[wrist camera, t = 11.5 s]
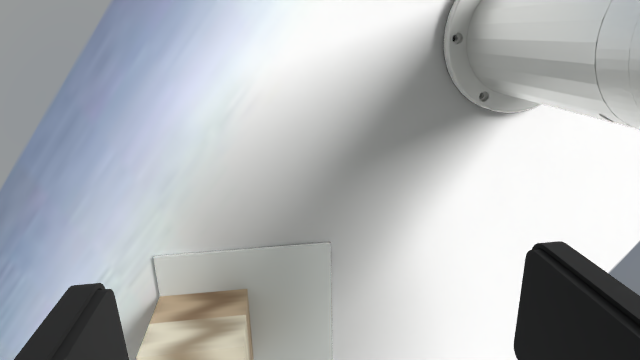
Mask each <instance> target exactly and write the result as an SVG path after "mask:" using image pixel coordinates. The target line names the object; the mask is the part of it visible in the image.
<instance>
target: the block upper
mask: <svg viewBox="0 0 640 360" xmlns="http://www.w3.org/2000/svg"><path fill="white" fill-rule="evenodd" d="M136 360H250V354H249V343H248V332H247V321H246V315H238V316H227V317H217V318H206V319H196V320H185V321H175V322H164V323H154V324H149V326H148V328H147V331H146V333H145V336H144V338H143V341H142V344H141V346H140V349H139V351H138V354H137V357H136Z"/></svg>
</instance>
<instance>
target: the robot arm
mask: <svg viewBox="0 0 640 360" xmlns="http://www.w3.org/2000/svg"><path fill="white" fill-rule="evenodd" d="M453 35H455V37H456V39H455V41H453V39H452V38H453ZM444 56H445V61H446V65H447V69H448V72H449V74H450V76H451V78H452V80H453V82H454V84H455V85H456V87H457V88H458V89H459V91H460V92H461V93H462V94H463V95H464V96H465V97H466V98H468V99H469V100H470V101H471V102H473V103H475V104H477V105H479V106H481V107H483V108H486V109H489V110H492V111H496V112H503V113H514V112H522V111H526V110H530V109H533V108H535V107H537V106H539V105H542V104H543V105H547V106H550V107H554V108H558V109H562V110H566V111H570V112H574V113H577V114H581V115H585V116H589V117H593V118H597V119H601V120H604V121H608V122H612V123H616V124H620V125H624V126H628V127H631V128H635V129H639V130H640V0H455V2H454V4H453V6H452V8H451V10H450V13H449V16H448V20H447V23H446V27H445V35H444ZM480 94H482V95H481V97H480V98H479V96H480ZM514 351H515V355H516V357H517V359H518V360H640V296H639V295H637V294H636V293H635V292H633V291H632V290H630V289H629V288H628V287H626V286H625V285H623V284H622V283H621V282H619V281H618V280H616V279H615V278H614V277H612V276H611V275H609V274H608V273H607V272H605V271H604V270H602V269H601V268H600V267H598V266H597V265H595V264H594V263H593V262H591V261H590V260H588V259H587V258H586V257H584V256H583V255H581V254H580V253H579V252H577V251H576V250H574V249H573V248H571V247H570V246H569V245H567V244H566V243H564V242H548V243H537V244H536V245H534V247H533V248H532V250H530V251H528V253H527V254H526V259H525V266H524V273H523V281H522V288H521V295H520V302H519V310H518V317H517V324H516V331H515V339H514ZM14 360H129V358H128V353H127V349H126V344H125V340H124V335H123V331H122V326H121V322H120V317H119V313H118V309H117V304H116V300H115V295H114V292H113V291H112V290H111V289H105V287H104V286H103V284H101V283H95V284H84V285H74V286H71V287H70V288H68V290H67V291H66V292H65V294H64V295H63V296H62V298H61V299H60V300H59V301H58V303H57V304H56V305H55V307H54V308H53V309H52V311H51V312H50V313H49V314H48V316H47V317H46V318H45V320H44V321H43V322H42V324H41V325H40V326H39V327H38V329H37V330H36V331H35V333H34V334H33V335H32V337H31V338H30V339H29V340H28V342H27V343H26V344H25V346H24V347H23V348H22V350H21V351H20V352H19V353H18V355H17V356H16V357H15V359H14Z"/></svg>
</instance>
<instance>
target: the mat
mask: <svg viewBox="0 0 640 360" xmlns="http://www.w3.org/2000/svg"><path fill="white" fill-rule="evenodd" d="M153 259H154V265H155V271H156V277H157V283H158V289H159V295H160V296H171V295H182V294H193V293H205V292H216V291H227V290H238V289H247V290H248V301H249V312H250V324H251V335H252V346H253V357H254V358H253V360H333V358H332V294H331V243H330V242H325V243H312V244H299V245H287V246H274V247H261V248H248V249H236V250H223V251H210V252H197V253H185V254H172V255H159V256H154V258H153Z"/></svg>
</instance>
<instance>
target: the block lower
mask: <svg viewBox="0 0 640 360" xmlns="http://www.w3.org/2000/svg"><path fill="white" fill-rule="evenodd" d="M238 315H246V321H247V332H248V343H249V354H250V360H253V358H254V357H253V346H252V335H251V324H250V312H249V301H248V290H247V289H238V290H227V291H216V292H205V293H193V294H182V295H171V296H160V297H159V300H158V302H157V305H156V307H155V310H154V313H153V315H152V318H151V320H150V323H149V324H154V323H164V322H175V321H185V320H196V319H206V318H217V317H227V316H238Z"/></svg>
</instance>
